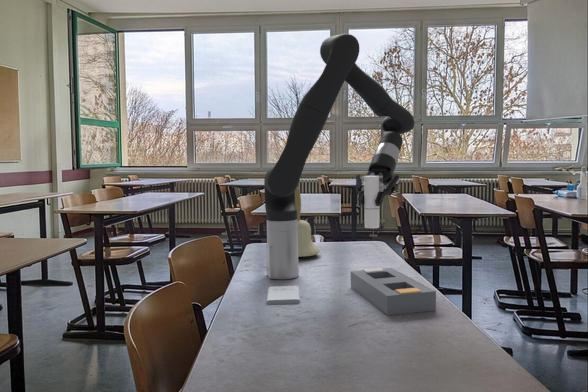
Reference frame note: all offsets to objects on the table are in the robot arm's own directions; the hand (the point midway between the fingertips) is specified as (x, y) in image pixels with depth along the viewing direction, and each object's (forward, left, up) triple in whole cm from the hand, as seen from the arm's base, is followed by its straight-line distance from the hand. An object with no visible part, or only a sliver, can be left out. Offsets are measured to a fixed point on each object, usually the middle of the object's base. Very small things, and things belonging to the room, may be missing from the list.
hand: (369, 203), depth 139 cm
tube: (+1, +1, -7) cm, 8 cm away
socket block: (-3, -20, -22) cm, 29 cm away
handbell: (-13, +36, -22) cm, 44 cm away
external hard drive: (-28, -10, -23) cm, 37 cm away
